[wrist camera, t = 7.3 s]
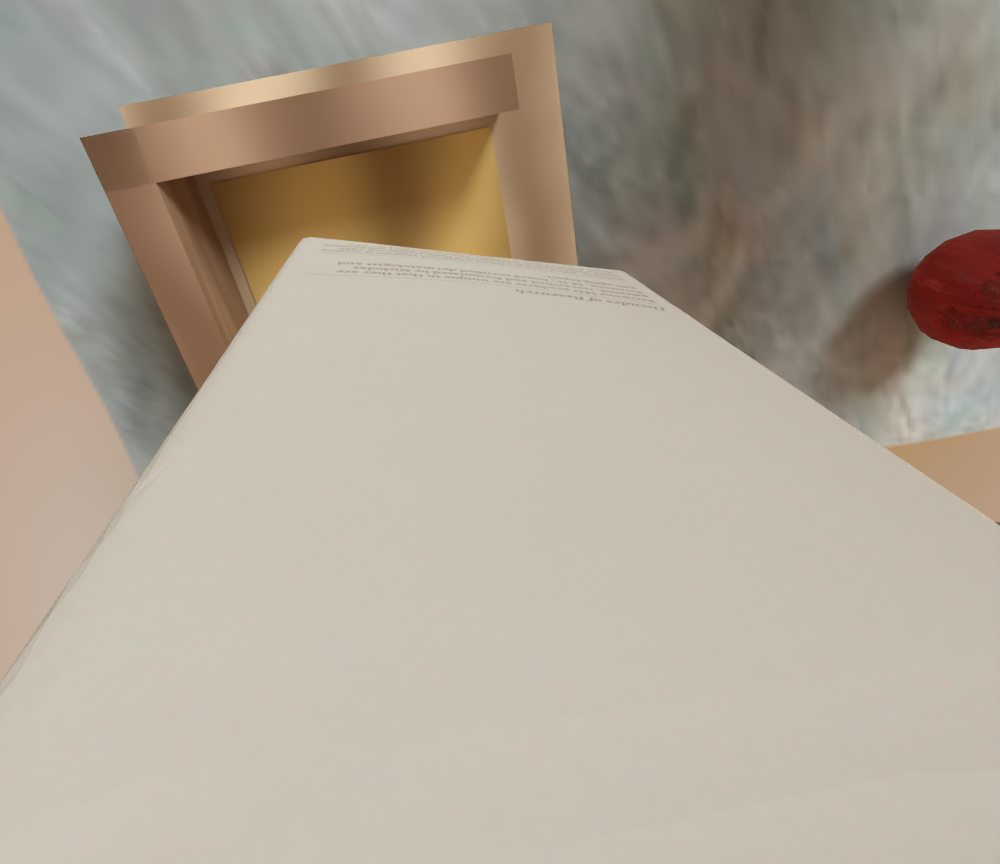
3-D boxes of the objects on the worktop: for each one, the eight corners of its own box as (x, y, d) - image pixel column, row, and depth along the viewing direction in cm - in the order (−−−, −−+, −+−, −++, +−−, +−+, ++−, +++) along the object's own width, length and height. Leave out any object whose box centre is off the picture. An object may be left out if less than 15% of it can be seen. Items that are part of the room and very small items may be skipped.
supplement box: (294, 226, 12) (-553, 1202, 1) (630, 266, 14) (1587, 856, 3) (296, 521, 16) (70, 1518, 4) (568, 527, 17) (896, 1275, 6)
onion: (875, 339, 35) (997, 396, 28) (869, 244, 32) (1005, 281, 25) (970, 300, 34) (1118, 347, 27) (974, 201, 32) (1139, 225, 25)
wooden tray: (534, 32, 25) (581, 4, 19) (578, 394, 33) (621, 457, 27) (147, 107, 24) (63, 104, 18) (292, 460, 32) (269, 541, 26)
